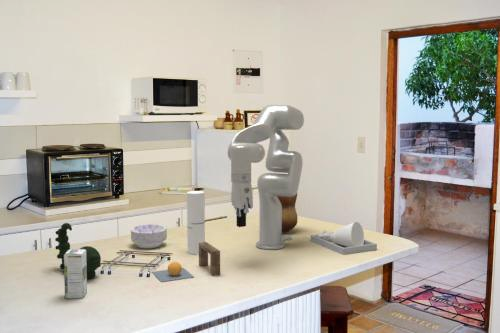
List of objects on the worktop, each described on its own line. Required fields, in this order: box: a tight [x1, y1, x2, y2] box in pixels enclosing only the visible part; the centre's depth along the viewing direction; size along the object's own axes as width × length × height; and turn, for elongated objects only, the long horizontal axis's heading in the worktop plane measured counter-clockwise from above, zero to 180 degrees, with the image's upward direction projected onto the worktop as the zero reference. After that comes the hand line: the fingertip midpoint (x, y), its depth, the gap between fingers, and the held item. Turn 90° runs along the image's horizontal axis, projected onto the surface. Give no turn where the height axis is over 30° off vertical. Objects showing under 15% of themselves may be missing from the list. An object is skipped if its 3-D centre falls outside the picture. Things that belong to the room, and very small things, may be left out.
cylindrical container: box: [186, 190, 206, 255], centre depth 221 cm, size 7×7×25 cm
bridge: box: [198, 241, 221, 277], centre depth 197 cm, size 3×14×9 cm, turn 26°
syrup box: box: [63, 248, 88, 300], centre depth 170 cm, size 6×6×14 cm
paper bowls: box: [130, 223, 168, 250], centre depth 231 cm, size 15×15×8 cm
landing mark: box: [151, 267, 195, 283], centre depth 192 cm, size 12×12×1 cm
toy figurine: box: [54, 222, 102, 280], centre depth 191 cm, size 9×19×25 cm
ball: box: [167, 261, 183, 276], centre depth 191 cm, size 5×5×5 cm
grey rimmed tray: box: [309, 232, 378, 256], centre depth 233 cm, size 17×25×2 cm
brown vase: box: [277, 192, 298, 233], centre depth 256 cm, size 14×13×25 cm
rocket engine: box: [318, 221, 365, 248], centre depth 232 cm, size 12×12×18 cm
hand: (241, 226), depth 202 cm, fingers closed
